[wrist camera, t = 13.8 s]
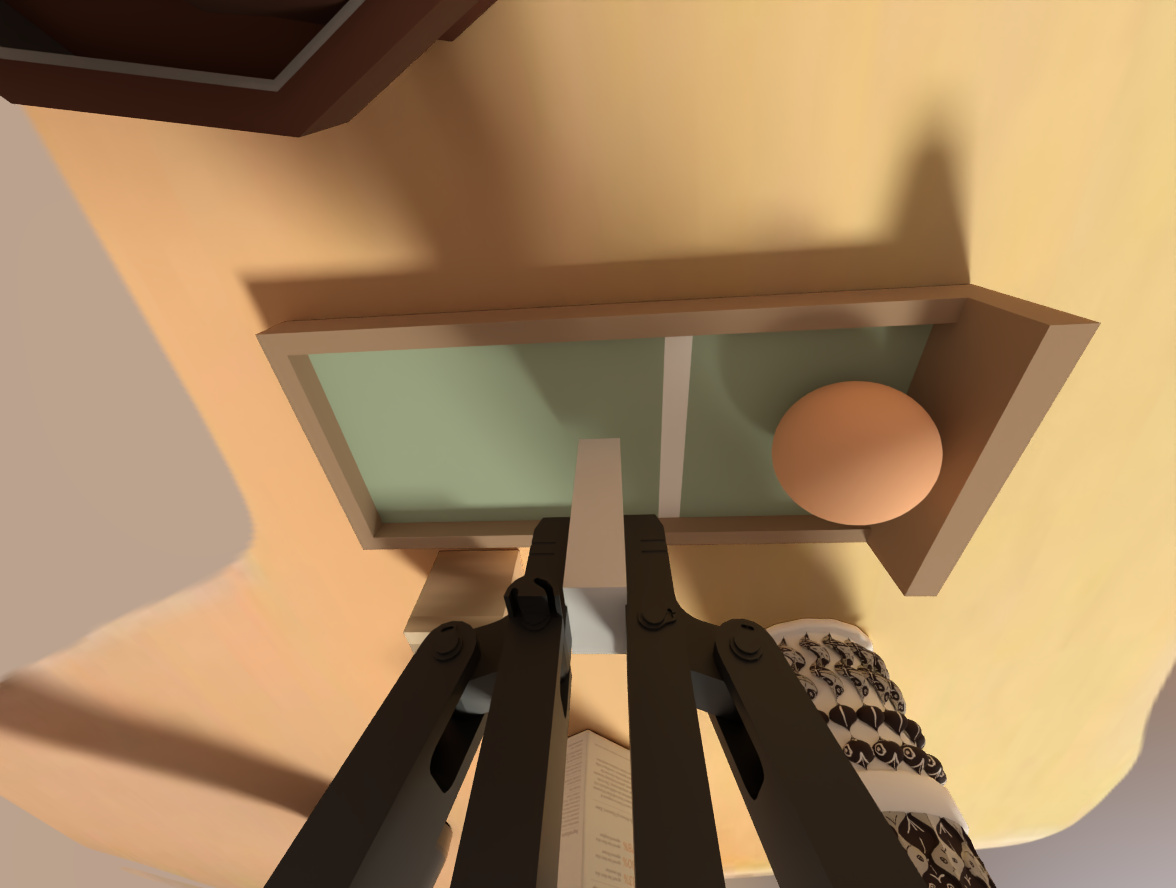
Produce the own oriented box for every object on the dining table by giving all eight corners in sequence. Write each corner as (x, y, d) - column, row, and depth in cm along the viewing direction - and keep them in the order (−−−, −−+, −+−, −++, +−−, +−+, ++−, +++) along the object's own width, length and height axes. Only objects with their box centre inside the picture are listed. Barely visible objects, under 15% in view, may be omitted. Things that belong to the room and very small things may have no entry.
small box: (536, 749, 36) (505, 1002, 25) (588, 726, 33) (578, 999, 22) (602, 779, 39) (600, 1018, 28) (655, 760, 36) (675, 1016, 25)
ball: (760, 464, 19) (757, 535, 15) (786, 355, 16) (791, 403, 12) (889, 487, 17) (927, 573, 13) (940, 370, 15) (1005, 432, 11)
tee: (458, 602, 25) (429, 684, 21) (439, 551, 23) (403, 632, 19) (530, 602, 25) (515, 684, 21) (518, 550, 22) (499, 632, 18)
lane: (378, 526, 22) (330, 599, 18) (284, 321, 16) (185, 366, 12) (875, 517, 20) (936, 596, 16) (971, 284, 14) (1100, 323, 11)
